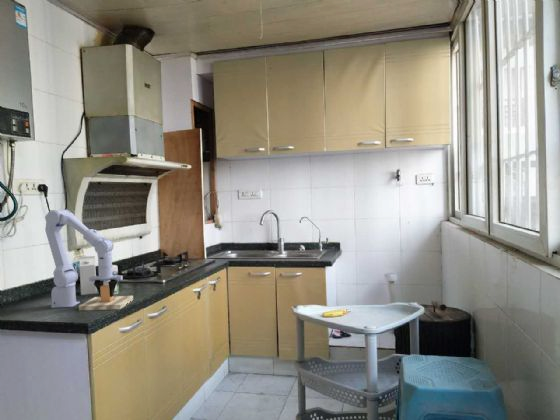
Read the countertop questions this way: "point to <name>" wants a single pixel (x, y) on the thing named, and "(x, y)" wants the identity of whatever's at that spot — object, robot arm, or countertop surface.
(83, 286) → the milk carton
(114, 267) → the syrup box
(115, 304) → the holder plate
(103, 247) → the robot arm
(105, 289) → the orange rectangular block
